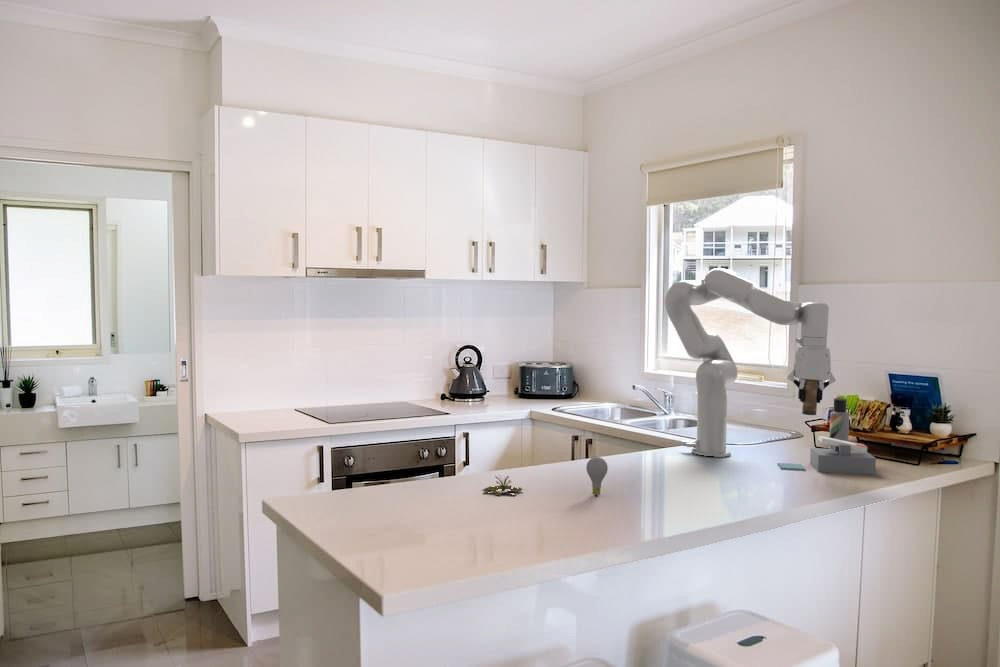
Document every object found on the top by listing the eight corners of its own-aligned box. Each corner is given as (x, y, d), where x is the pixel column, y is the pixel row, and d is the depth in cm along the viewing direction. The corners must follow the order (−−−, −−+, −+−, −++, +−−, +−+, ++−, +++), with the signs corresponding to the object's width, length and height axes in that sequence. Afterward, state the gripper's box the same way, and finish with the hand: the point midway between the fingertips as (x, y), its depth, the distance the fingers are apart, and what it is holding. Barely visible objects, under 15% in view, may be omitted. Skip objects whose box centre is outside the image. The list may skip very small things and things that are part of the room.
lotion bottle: (844, 456, 251) (846, 397, 250) (850, 460, 245) (852, 399, 244) (826, 456, 251) (828, 396, 250) (832, 459, 246) (834, 398, 245)
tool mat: (781, 469, 230) (781, 467, 230) (777, 464, 236) (777, 462, 236) (805, 470, 228) (805, 468, 228) (801, 465, 235) (801, 464, 235)
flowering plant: (520, 500, 190) (520, 482, 190) (474, 497, 193) (474, 479, 192) (529, 489, 201) (530, 472, 201) (486, 486, 204) (487, 469, 204)
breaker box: (818, 471, 227) (818, 445, 227) (810, 463, 239) (810, 438, 238) (875, 474, 224) (876, 448, 223) (864, 466, 235) (865, 441, 235)
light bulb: (608, 494, 196) (609, 456, 195) (604, 499, 190) (605, 460, 190) (588, 492, 197) (589, 454, 197) (583, 497, 192) (584, 458, 192)
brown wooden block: (803, 414, 230) (806, 369, 229) (801, 412, 234) (803, 367, 233) (817, 415, 229) (820, 370, 228) (814, 413, 233) (817, 368, 232)
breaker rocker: (821, 442, 230) (822, 437, 230) (818, 440, 235) (819, 434, 234) (866, 452, 227) (867, 447, 227) (862, 449, 232) (863, 444, 232)
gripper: (787, 342, 228) (783, 402, 229) (845, 344, 225) (841, 405, 226) (782, 340, 235) (779, 398, 236) (839, 343, 232) (835, 402, 233)
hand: (809, 401), depth 231 cm, fingers closed on brown wooden block, 4 cm apart
